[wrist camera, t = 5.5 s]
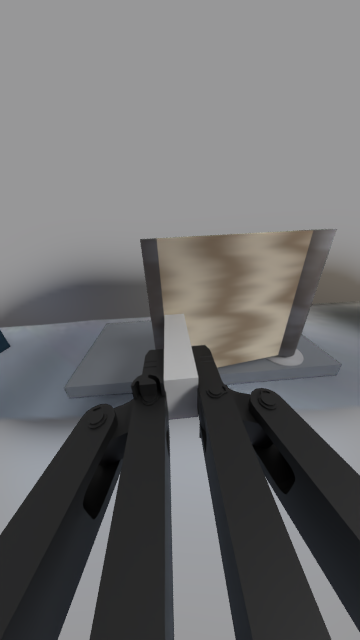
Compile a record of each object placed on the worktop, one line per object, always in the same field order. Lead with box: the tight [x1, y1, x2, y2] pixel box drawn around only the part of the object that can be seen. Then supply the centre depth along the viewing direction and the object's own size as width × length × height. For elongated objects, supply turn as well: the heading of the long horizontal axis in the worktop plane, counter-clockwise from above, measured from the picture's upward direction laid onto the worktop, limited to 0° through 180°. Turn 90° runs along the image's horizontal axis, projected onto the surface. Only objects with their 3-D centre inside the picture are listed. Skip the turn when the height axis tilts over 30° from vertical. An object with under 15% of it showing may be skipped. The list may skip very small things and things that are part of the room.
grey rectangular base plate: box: [64, 321, 342, 398], centre depth 23 cm, size 28×13×2 cm, turn 94°
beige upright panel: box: [140, 229, 337, 368], centre depth 15 cm, size 15×3×12 cm, turn 103°
